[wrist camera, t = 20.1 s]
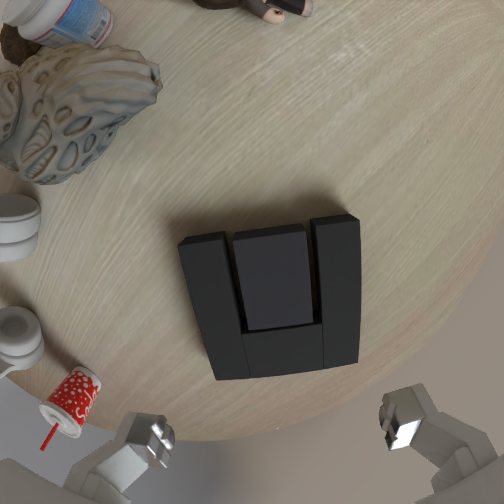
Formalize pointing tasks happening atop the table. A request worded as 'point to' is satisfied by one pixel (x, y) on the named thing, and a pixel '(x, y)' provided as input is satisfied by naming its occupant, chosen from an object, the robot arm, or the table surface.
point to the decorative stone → (16, 45)
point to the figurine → (263, 7)
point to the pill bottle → (60, 21)
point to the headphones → (14, 317)
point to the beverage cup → (70, 403)
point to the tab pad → (274, 276)
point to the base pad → (287, 337)
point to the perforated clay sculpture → (70, 108)
